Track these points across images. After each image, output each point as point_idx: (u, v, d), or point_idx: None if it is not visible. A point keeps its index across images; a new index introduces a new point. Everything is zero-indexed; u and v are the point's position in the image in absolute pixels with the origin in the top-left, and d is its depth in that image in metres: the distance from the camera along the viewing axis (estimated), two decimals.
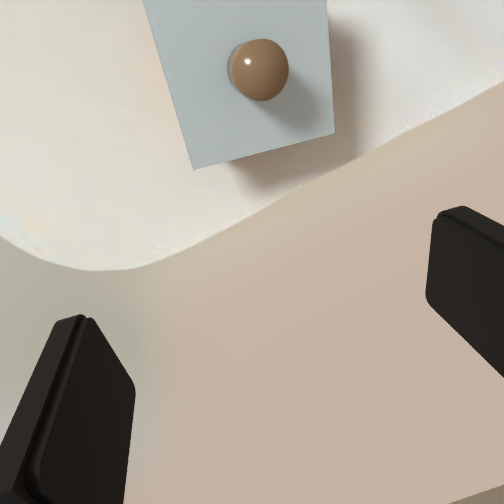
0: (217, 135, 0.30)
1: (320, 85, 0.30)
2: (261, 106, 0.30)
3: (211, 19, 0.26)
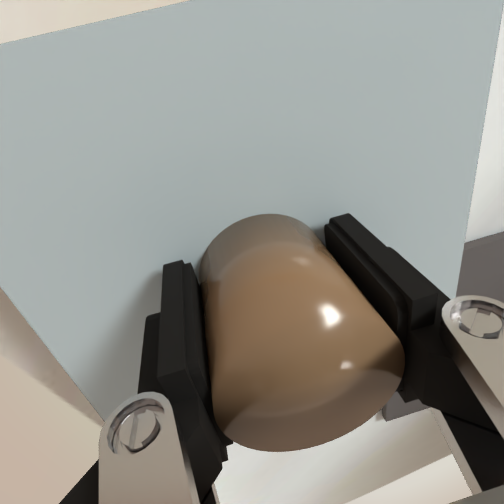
0: (53, 191, 0.08)
1: None
2: None
3: (381, 169, 0.09)
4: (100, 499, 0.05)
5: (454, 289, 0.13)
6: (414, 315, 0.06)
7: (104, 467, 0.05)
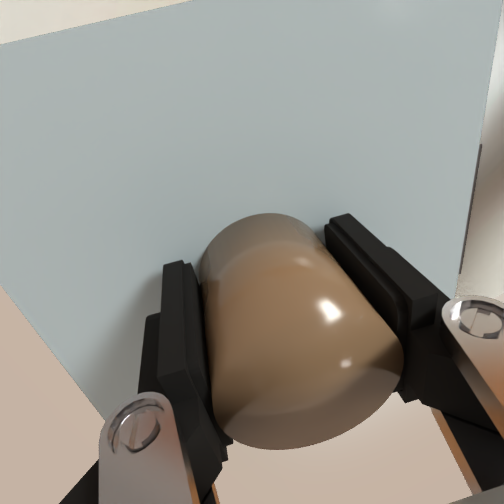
0: (53, 191, 0.08)
1: None
2: None
3: (380, 168, 0.10)
4: (100, 499, 0.05)
5: (453, 288, 0.13)
6: (414, 315, 0.06)
7: (104, 467, 0.05)
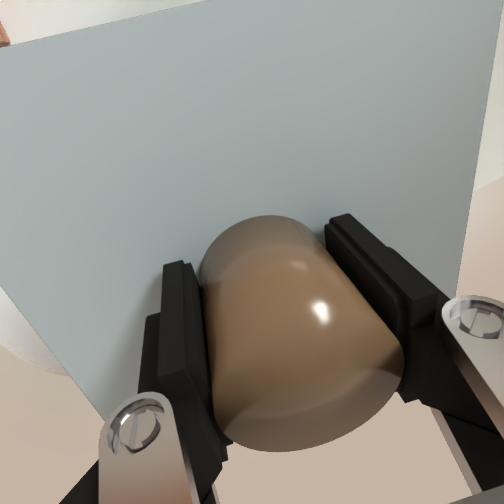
0: (54, 193, 0.08)
1: None
2: None
3: (381, 170, 0.10)
4: (100, 499, 0.05)
5: (454, 290, 0.13)
6: (414, 315, 0.06)
7: (104, 467, 0.05)
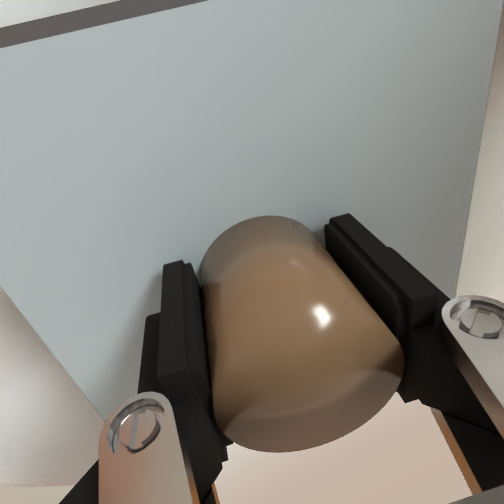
0: (54, 193, 0.08)
1: None
2: None
3: (381, 171, 0.10)
4: (100, 499, 0.05)
5: (454, 290, 0.13)
6: (414, 315, 0.06)
7: (104, 467, 0.05)
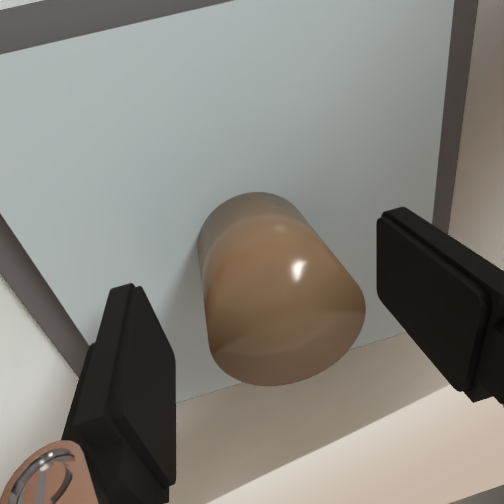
0: (74, 170, 0.10)
1: (225, 371, 0.15)
2: (174, 277, 0.12)
3: (354, 153, 0.11)
4: None
5: None
6: (500, 310, 0.06)
7: None
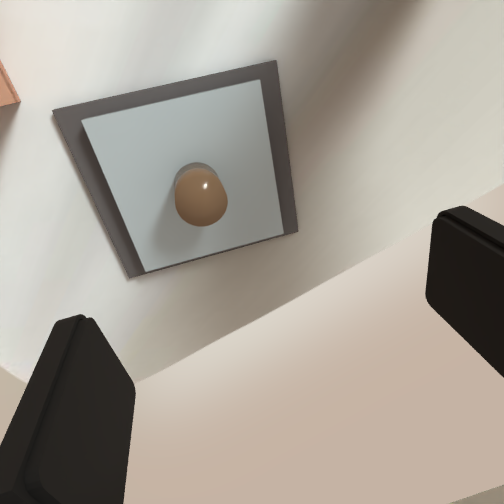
0: (128, 151, 0.27)
1: (187, 250, 0.32)
2: (164, 198, 0.29)
3: (234, 147, 0.28)
4: None
5: (278, 199, 0.32)
6: None
7: None
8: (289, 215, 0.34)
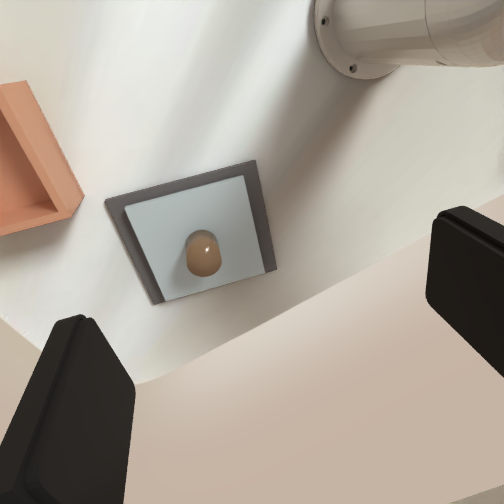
0: (155, 225, 0.40)
1: (195, 286, 0.45)
2: (179, 253, 0.42)
3: (227, 219, 0.41)
4: None
5: None
6: None
7: None
8: (269, 258, 0.47)
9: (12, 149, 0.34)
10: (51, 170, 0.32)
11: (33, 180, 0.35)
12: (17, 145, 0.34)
